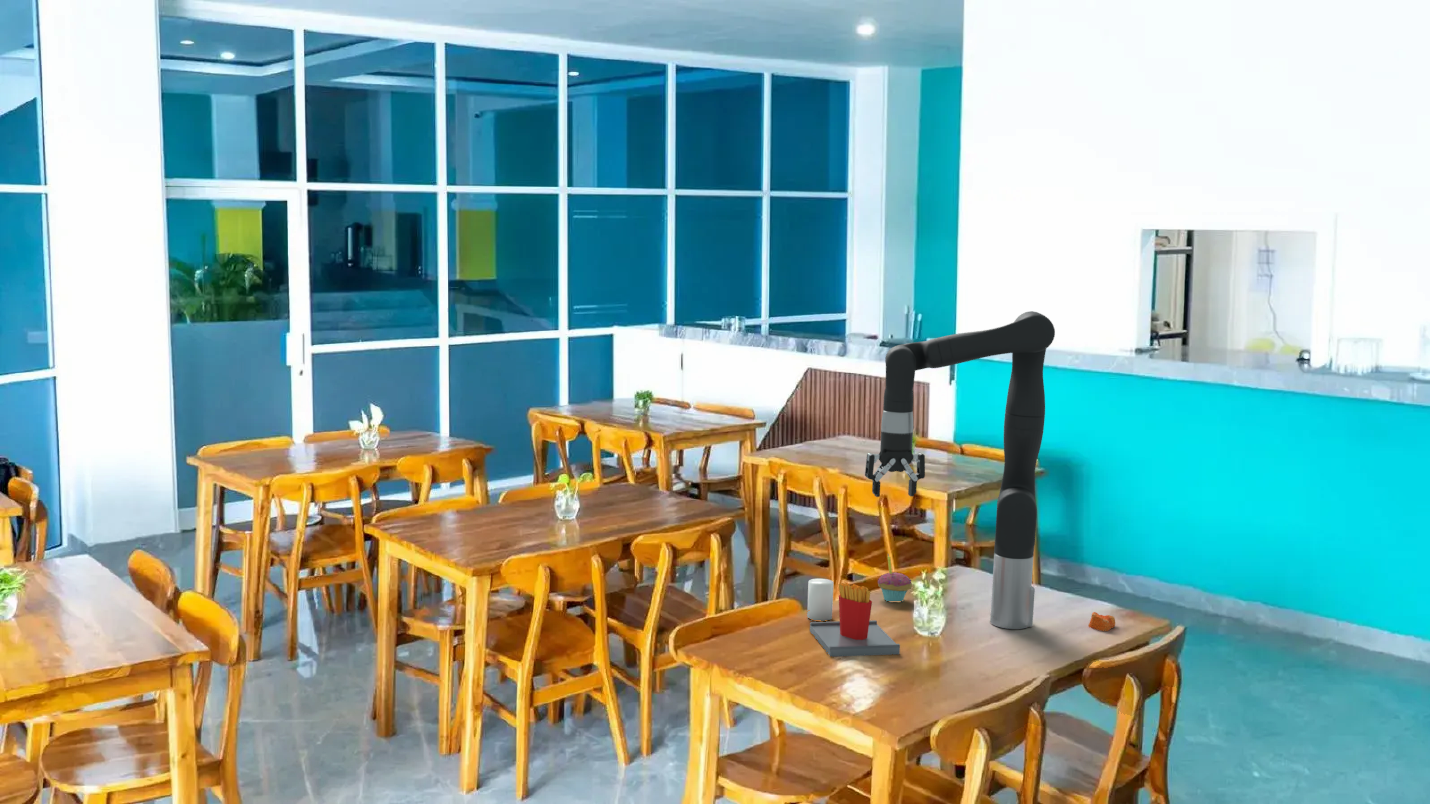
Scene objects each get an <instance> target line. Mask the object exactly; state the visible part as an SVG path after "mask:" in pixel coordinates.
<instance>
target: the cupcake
mask: <svg viewBox="0 0 1430 804" xmlns="http://www.w3.org/2000/svg"><path fill="white" fill-rule="evenodd" d="M887 565H888V571H889V572H887V573H886V572H885V573H883V574H881V576H879V578H877V584H878V587H879V588H880V589H881V591H882V596H883V600H884V601H885V600H886V601H885V602H887V601H902V600H903V601H904V599H905V596H906V594H907V592H908V590H909V591H910V590H911V589H912V585H913V583H912V580H911V579H910V578H909V577H908V576H907V575H906V574H903V573H901V572H895V571H894V572H893V570H892V563H891V556H890V555H889V553H887ZM903 601H902V602H903Z"/></svg>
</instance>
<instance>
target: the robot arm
mask: <svg viewBox="0 0 1430 804" xmlns="http://www.w3.org/2000/svg"><path fill="white" fill-rule="evenodd" d="M1054 326H1055V325H1054V324H1053V322H1052V321H1051V320H1050V318H1049V317H1047V316H1046V315H1044V314H1042V313H1039V312H1037V311H1026V312H1023V313H1021V314H1020V315H1018V316H1017V318H1015V320H1014V322H1011V323H1008V324H1005V325H1003V326H999V327H994V328H991V329H984V330H977V331H968V332H967V331H966V332H960V333H955V334H950V335H949V334H948V335H945V336H941V337H940V336H939V337H935V338H932V339H929V340H926V341H925V340H924V341H918V342H917V341H916V342H909V343H902V344H898V345H895V346H893V347H891V348H890V349H888V351H887V353H886V355H885V359H884V361H885V389H884V395H883V407H882V409H883V411H882V415H881V429H880V430H881V431H880V450H879V453H877V454H876V453H871V452H868V453H867V454H866V461H865V469H864V477H865V478H868V479H869V480H871V481H872V487H871V489H872V490H871V492H872V494H873V495H874V497H876V498H880V496H881V480H882V478H883V477H884V475H886V474H887V473H888V472H890V473H893V472H895V473H896V472H898V473H903V472H905V474H906V475H907V476H908V478H909V479H908V492H907V493H908V496H909V497H914V496H915V495H916V494H917V489H918V488H917V484H918V483H917V482H918V481H919V480H922V479H923V480H924V479H925V478H926V458H925V457H926V456H925V454H923V453H922V452H917V453H913V452H912V451H913V440H914V439H913V438H914V437H913V434H914V428H915V427H914V384H915V383H914V382H915V376H916V372H917V371H920V370H925V369H940V368H944V367H948V366H954V365H959V364H962V363H966V362H970V361H971V362H972V361H974V360H979V359H984V358H986V357H987V358H988V357H993V356H998V355H999V356H1000V355H1005V354H1007V355H1008V354H1011V357H1012V359H1011V360H1012V361H1011V372H1010V377H1009V382H1008V383H1009V384H1008V389H1007V395H1006V403H1005V409H1004V410H1005V411H1004V412H1005V413H1004V421H1003V422H1004V423H1003V457H1004V458H1003V459H1004V466H1003V467H1004V468H1003V472H1002V473H1003V474H1002V480H1001V485H1000V489H999V494H998V498H997V502H996V516H995V518H996V519H995V520H996V521H995V538H994V551H993V552H994V553H993V569H992V583H991V585H992V586H991V601H990V602H991V604H990V615H989V616H990V618H989V619H990V620H989V622H990V624H991V625H993V626H995V627H998V628H1000V629H1001V628H1003V629H1006V630H1007V629H1008V630H1009V629H1010V630H1019V629H1022V630H1023V629H1026V628H1030V627H1031V628H1032V627H1033V623H1034V607H1035V606H1034V605H1035V595H1036V594H1035V593H1036V591H1035V590H1036V589H1035V587H1034V586H1032V585H1033V584H1032V583H1033V572H1034V571H1033V569H1034V568H1033V567H1034V553H1035V545H1036V530H1037V517H1038V516H1037V513H1038V510H1037V509H1038V508H1037V500H1036V490H1035V489H1036V487H1035V486H1036V467H1037V461H1038V457H1039V453H1040V450H1041V447H1042V441H1043V438H1044V437H1043V435H1044V429H1045V420H1046V419H1045V418H1046V395H1045V394H1046V393H1045V384H1044V364H1045V359H1046V352H1047V351H1046V350H1047V348H1049V347H1050V346H1051V345H1052V344H1053V341H1054V339H1055V335H1056V330H1055V327H1054ZM878 460H879V462H880V464H879V466H878V467H877V469H876V471H875V472H874V467H875V464H876V463H877V462H878ZM912 461H914V462H915V463H916V472H914V470H913V469H912V467H911V466H910V464H911V463H912Z"/></svg>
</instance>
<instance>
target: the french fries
mask: <svg viewBox="0 0 1430 804" xmlns="http://www.w3.org/2000/svg"><path fill="white" fill-rule="evenodd" d="M838 590H839V595H838V612H839V621H840V634H841V635H842V636H845V637H848V638H852V639H856V640H863V639H866V638H867V636H868V628H869V621H870V619H871V612H872V605H873V604H872V603H873V601H872V600H871V591H870V590H869V588H868V587H867V586H864V585H861V586H860V585H857V584H856V583H855V584H854V583H853V584H852V585H850V583H848V582H845V583H844V582H841V583H838Z"/></svg>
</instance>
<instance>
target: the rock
mask: <svg viewBox="0 0 1430 804" xmlns="http://www.w3.org/2000/svg"><path fill="white" fill-rule="evenodd" d="M1090 617H1091V618H1090V620H1089V622H1088V627H1089V628H1090V627H1091V629H1094V630H1097V631H1100V632H1109V630H1111V629H1113V628H1115V626H1116V618H1115V616H1113V615H1109V614H1107V615H1103V614H1099V613H1098V612H1096V611H1093V612H1092V613H1091V616H1090Z"/></svg>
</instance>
